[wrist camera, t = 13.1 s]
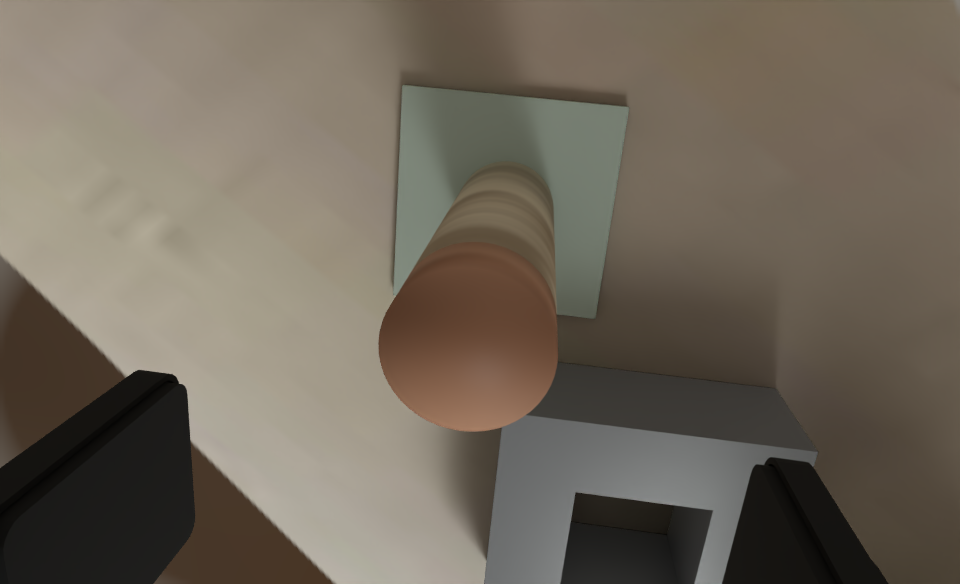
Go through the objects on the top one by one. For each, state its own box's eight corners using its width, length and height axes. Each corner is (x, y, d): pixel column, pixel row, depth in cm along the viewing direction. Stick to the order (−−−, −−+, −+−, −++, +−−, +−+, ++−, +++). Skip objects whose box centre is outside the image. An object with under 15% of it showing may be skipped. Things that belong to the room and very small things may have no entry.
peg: (547, 259, 28) (546, 442, 15) (454, 249, 29) (375, 419, 16) (559, 166, 27) (569, 279, 14) (461, 156, 27) (381, 257, 14)
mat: (594, 315, 29) (595, 318, 29) (395, 292, 30) (393, 295, 30) (628, 106, 26) (629, 107, 26) (404, 84, 27) (402, 85, 26)
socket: (719, 594, 34) (746, 681, 29) (486, 561, 35) (477, 641, 30) (775, 388, 30) (818, 452, 25) (510, 356, 31) (503, 412, 26)
